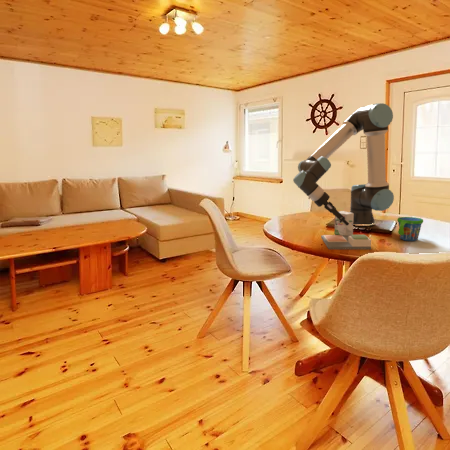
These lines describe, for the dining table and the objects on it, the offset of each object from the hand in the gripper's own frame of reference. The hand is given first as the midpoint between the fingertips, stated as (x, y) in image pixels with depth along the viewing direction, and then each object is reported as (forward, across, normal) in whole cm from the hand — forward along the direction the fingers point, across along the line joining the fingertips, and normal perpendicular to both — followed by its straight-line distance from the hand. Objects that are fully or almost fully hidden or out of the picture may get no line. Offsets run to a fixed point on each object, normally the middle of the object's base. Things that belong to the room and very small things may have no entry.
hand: (349, 226), depth 181 cm
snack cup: (+21, +10, +14) cm, 27 cm away
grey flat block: (-1, +16, -7) cm, 18 cm away
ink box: (+1, 0, -5) cm, 5 cm away
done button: (+1, +23, -2) cm, 23 cm away
